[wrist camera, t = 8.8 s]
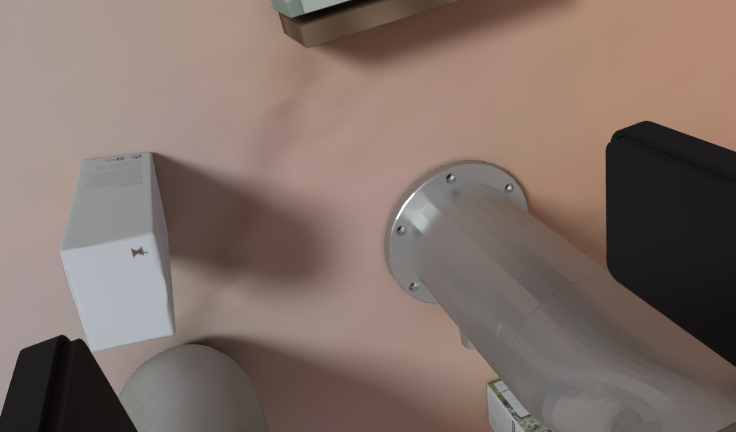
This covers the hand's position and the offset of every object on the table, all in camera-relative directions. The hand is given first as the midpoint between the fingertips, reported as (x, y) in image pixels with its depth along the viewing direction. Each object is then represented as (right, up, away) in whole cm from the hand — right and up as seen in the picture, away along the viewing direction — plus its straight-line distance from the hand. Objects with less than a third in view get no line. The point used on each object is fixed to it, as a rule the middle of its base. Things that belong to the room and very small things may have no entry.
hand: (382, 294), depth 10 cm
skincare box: (-16, +3, +28) cm, 32 cm away
